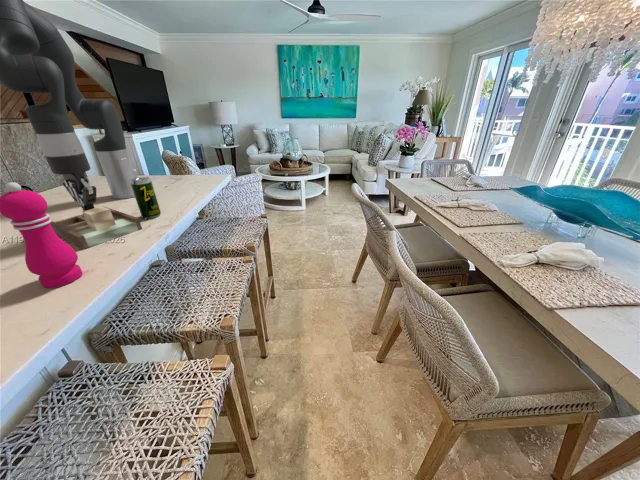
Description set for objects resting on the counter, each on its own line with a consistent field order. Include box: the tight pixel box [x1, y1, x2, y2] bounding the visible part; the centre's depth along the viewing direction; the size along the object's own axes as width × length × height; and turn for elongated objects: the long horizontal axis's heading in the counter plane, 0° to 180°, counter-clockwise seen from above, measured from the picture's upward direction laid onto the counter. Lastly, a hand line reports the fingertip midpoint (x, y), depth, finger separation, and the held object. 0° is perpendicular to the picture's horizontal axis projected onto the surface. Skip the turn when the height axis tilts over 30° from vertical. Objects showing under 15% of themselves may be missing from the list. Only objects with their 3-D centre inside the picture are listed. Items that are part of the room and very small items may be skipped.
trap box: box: [50, 205, 143, 250], centre depth 74 cm, size 14×20×3 cm
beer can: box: [131, 176, 162, 220], centre depth 82 cm, size 5×5×12 cm
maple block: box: [81, 205, 116, 231], centre depth 70 cm, size 4×4×4 cm
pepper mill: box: [0, 181, 83, 289], centre depth 49 cm, size 7×7×20 cm
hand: (92, 217), depth 73 cm, fingers closed
